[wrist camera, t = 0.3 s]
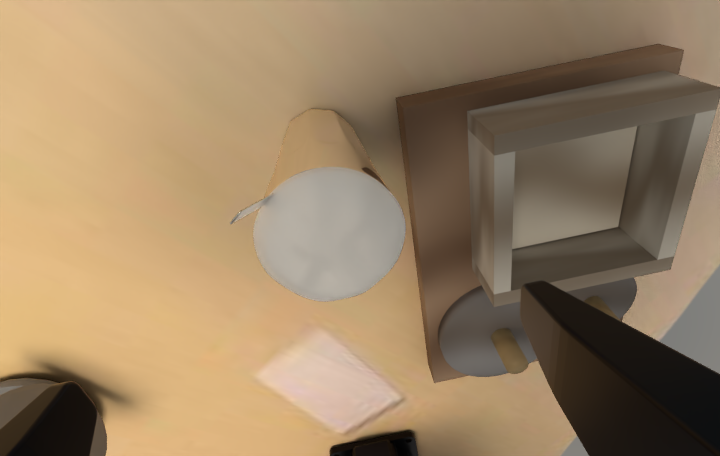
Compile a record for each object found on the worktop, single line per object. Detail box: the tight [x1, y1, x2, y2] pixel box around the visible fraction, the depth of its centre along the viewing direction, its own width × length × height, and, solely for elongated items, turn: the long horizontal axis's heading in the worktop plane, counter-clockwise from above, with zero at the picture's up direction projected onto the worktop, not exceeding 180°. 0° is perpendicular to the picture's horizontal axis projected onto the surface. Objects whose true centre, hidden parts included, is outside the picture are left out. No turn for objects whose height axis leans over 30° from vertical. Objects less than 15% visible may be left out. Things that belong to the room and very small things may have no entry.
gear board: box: [396, 44, 720, 383], centre depth 22 cm, size 18×12×4 cm, turn 10°
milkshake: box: [230, 109, 406, 302], centre depth 15 cm, size 4×5×10 cm
